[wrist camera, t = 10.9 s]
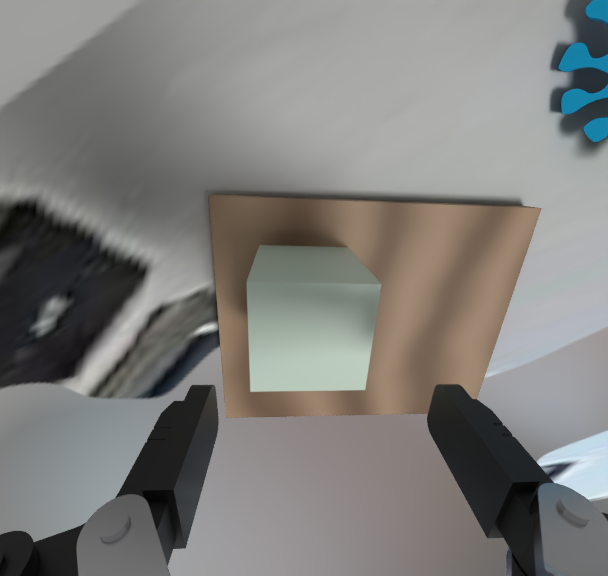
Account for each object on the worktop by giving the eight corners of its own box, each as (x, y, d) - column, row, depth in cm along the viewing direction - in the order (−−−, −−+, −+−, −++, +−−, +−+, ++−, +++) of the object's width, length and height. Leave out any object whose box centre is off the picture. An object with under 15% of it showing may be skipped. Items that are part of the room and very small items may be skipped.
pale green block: (348, 247, 19) (381, 284, 13) (340, 324, 21) (365, 390, 15) (259, 245, 19) (246, 282, 12) (260, 324, 21) (250, 391, 14)
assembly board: (524, 206, 21) (603, 216, 15) (462, 400, 27) (503, 452, 22) (214, 194, 19) (188, 201, 14) (229, 404, 25) (215, 461, 20)
